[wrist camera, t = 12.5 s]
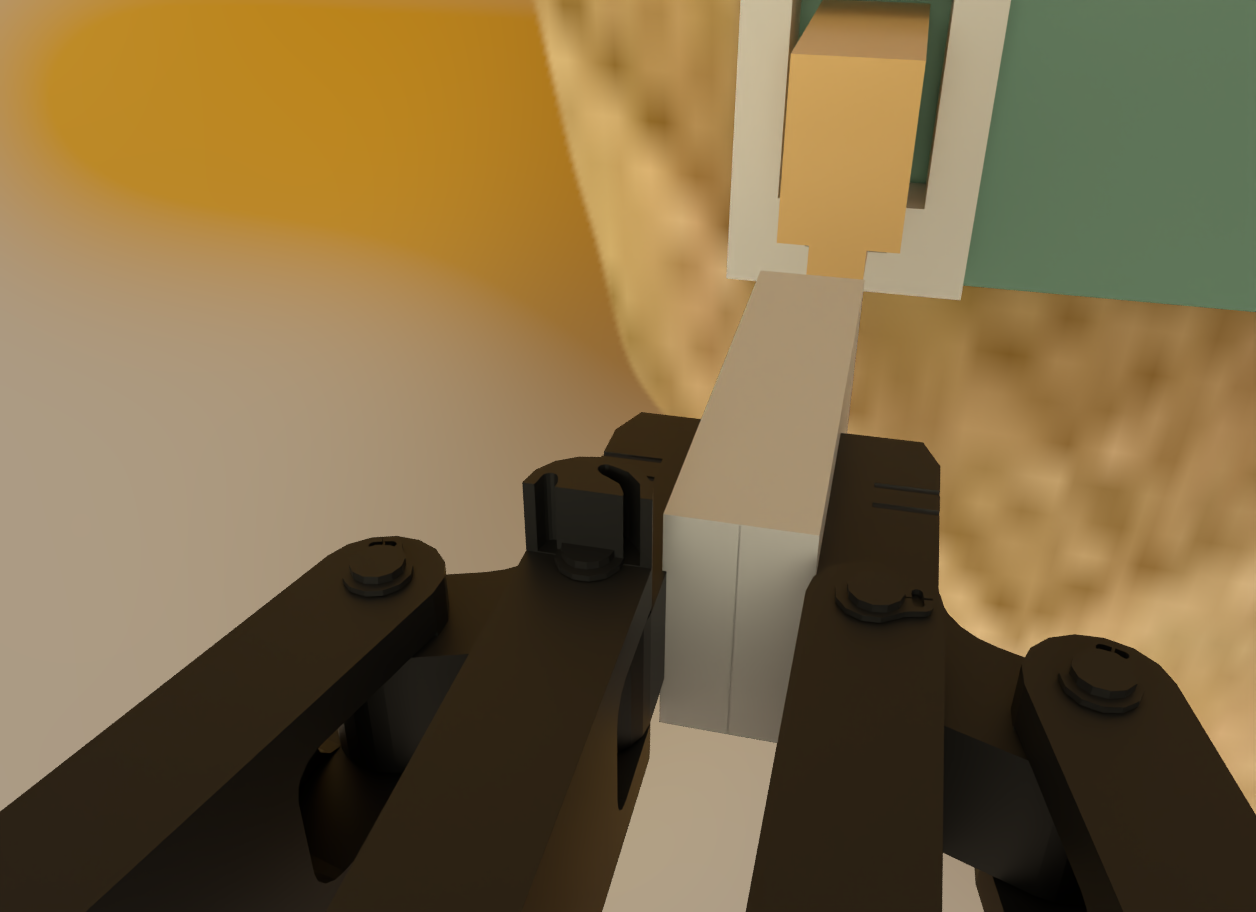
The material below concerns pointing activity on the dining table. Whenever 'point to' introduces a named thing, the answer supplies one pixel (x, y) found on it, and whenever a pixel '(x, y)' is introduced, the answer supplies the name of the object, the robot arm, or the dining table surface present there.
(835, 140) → the plug
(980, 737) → the robot arm
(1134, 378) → the dining table surface
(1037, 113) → the board
